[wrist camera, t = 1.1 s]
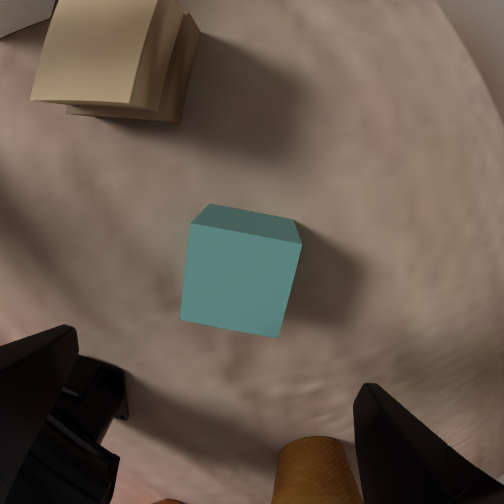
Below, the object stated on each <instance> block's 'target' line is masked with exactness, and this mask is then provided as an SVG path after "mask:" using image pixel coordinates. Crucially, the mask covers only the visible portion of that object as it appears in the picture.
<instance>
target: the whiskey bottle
mask: <svg viewBox="0 0 504 504" xmlns="http://www.w3.org/2000/svg"><path fill="white" fill-rule="evenodd" d="M153 504H182V503H180V502H178V501H175V500H169V499H165V500H162V501H159V502H156V503H153Z"/></svg>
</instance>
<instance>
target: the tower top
mask: <svg viewBox="0 0 504 504" xmlns="http://www.w3.org/2000/svg"><path fill="white" fill-rule="evenodd" d="M183 14H184V13H183V11H182V10H181V8H180V7H179V5H178V4H177V2H176V1H175V0H59V1H58V4H57V6H56V9H55V12H54V14H53V17H52V20H51V23H50V26H49V29H48V32H47V35H46V38H45V41H44V45H43V48H42V52H41V55H40V59H39V63H38V67H37V71H36V75H35V79H34V83H33V88H32V93H31V98H30V101H39V102H49V103H57V104H65V105H85V106H104V107H119V108H131V109H141V110H151V111H158V107H159V103H160V98H161V94H162V90H163V85H164V81H165V77H166V73H167V69H168V65H169V62H170V58H171V54H172V50H173V47H174V43H175V40H176V36H177V33H178V30H179V26H180V23H181V20H182V17H183Z"/></svg>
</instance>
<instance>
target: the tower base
mask: <svg viewBox="0 0 504 504" xmlns="http://www.w3.org/2000/svg"><path fill="white" fill-rule="evenodd" d="M183 13H184V14H183V17H182V20H181V23H180V26H179V30H178V33H177V36H176V40H175V43H174V47H173V50H172V54H171V58H170V62H169V65H168V69H167V73H166V77H165V81H164V85H163V90H162V94H161V98H160V103H159V107H158V111H151V110H141V109H131V108H119V107H104V106H85V105H67V109H66V114H72V115H82V116H91V117H108V118H124V119H137V120H148V121H158V122H168V123H176V124H180V121H181V116H182V111H183V106H184V101H185V96H186V91H187V87H188V82H189V78H190V73H191V69H192V65H193V60H194V56H195V52H196V48H197V44H198V40H199V36H200V30H199V28H198V27H197V25H196V23H195V22H194V20H193V18H192V17H191V15H190V13H189V12H187V11H183Z"/></svg>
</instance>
